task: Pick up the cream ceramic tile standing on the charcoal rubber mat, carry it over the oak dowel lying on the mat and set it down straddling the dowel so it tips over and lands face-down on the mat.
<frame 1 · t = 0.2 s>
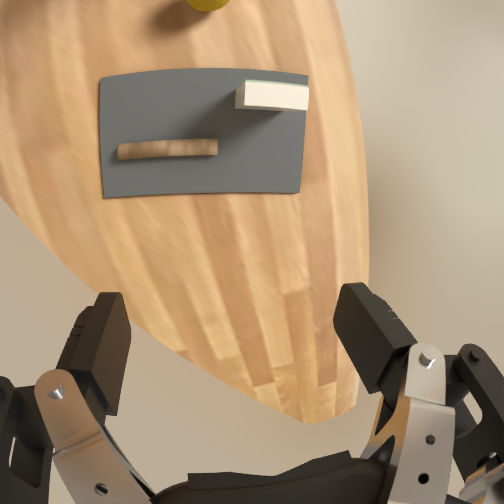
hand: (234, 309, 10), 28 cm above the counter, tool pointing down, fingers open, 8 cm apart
lemon: (208, 2, 24), on the counter
tile: (259, 100, 31), point 1 cm above the counter, touching mat
dowel: (168, 146, 32), resting on mat
mat: (200, 130, 32), on the counter
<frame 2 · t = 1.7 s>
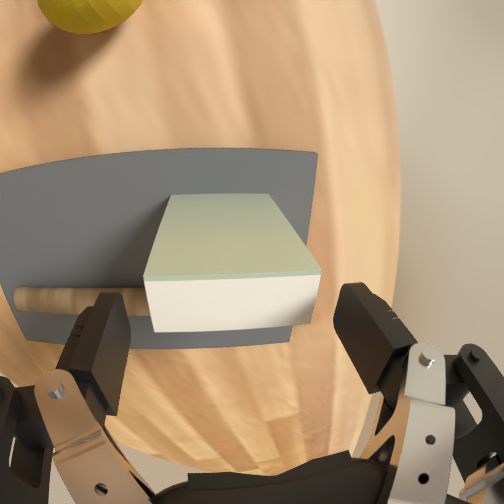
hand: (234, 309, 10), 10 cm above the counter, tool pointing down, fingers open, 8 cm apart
lemon: (116, 9, 11), on the counter
tile: (219, 212, 18), point 1 cm above the counter, touching mat
dowel: (82, 288, 19), resting on mat
mat: (123, 265, 19), on the counter
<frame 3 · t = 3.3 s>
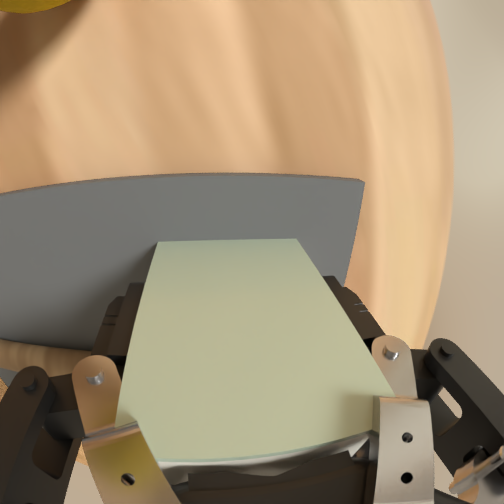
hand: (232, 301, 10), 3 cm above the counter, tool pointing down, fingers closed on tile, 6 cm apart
tile: (227, 265, 13), point 1 cm above the counter, touching gripper, mat
dowel: (59, 345, 14), resting on mat
mat: (103, 324, 14), on the counter
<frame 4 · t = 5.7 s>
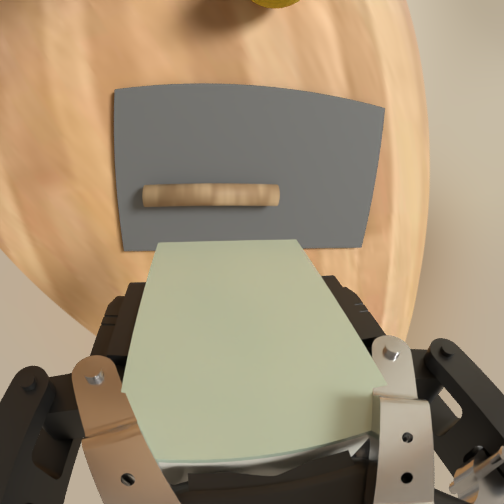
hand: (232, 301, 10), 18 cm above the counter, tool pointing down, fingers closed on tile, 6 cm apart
tile: (228, 266, 13), point 15 cm above the counter, touching gripper
dowel: (210, 189, 26), resting on mat
mat: (254, 169, 26), on the counter
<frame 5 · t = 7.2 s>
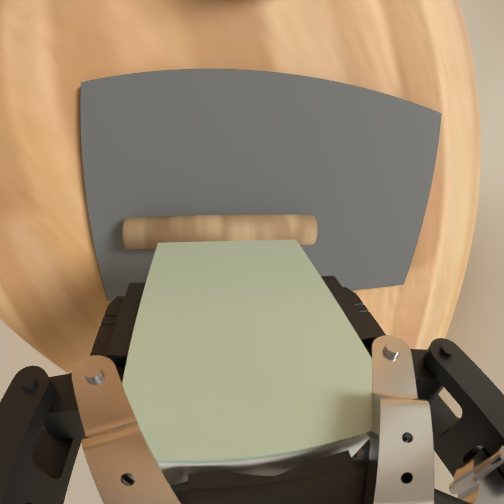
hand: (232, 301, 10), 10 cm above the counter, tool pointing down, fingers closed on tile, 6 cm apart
tile: (227, 266, 13), point 7 cm above the counter, touching gripper
dowel: (219, 221, 19), resting on mat
mat: (279, 193, 19), on the counter
when the fingers open (6 cm above the counter, at t = 8.4 s): tile drops 2 cm and tips over, resting on mat.
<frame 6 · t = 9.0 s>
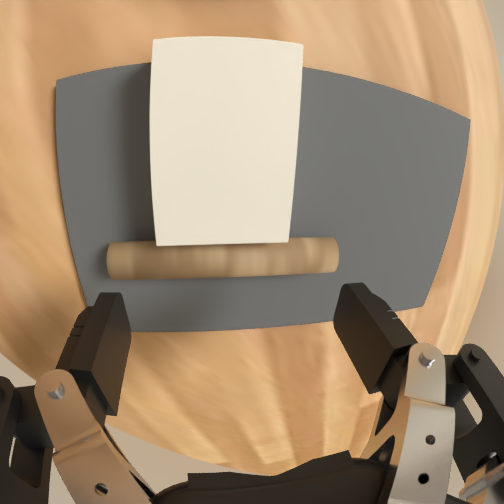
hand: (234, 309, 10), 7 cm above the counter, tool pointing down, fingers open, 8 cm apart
tile: (221, 232, 14), point 2 cm above the counter, tilted 90°, touching mat
dowel: (222, 244, 16), resting on mat
mat: (293, 211, 16), on the counter
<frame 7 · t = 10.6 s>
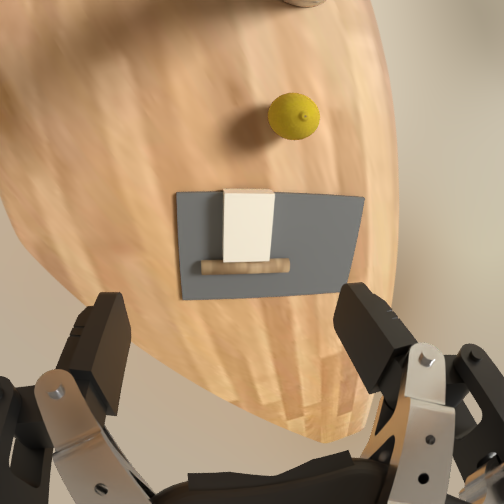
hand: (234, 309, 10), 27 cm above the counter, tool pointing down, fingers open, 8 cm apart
lemon: (283, 116, 32), on the counter
tile: (245, 257, 38), point 2 cm above the counter, tilted 90°, touching mat
dowel: (244, 261, 40), resting on mat
mat: (272, 247, 40), on the counter
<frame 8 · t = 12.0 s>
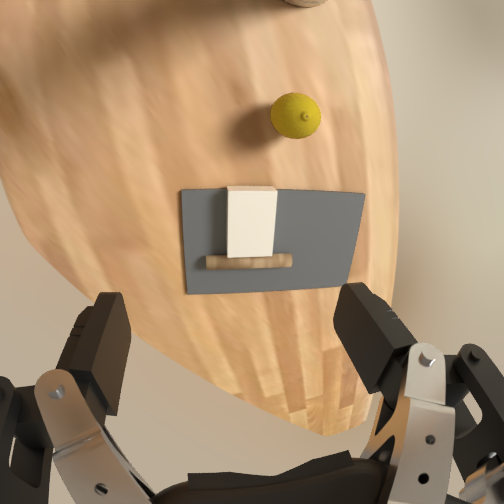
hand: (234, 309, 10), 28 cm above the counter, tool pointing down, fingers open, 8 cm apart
lemon: (285, 115, 33), on the counter
tile: (248, 252, 39), point 2 cm above the counter, tilted 90°, touching mat
dowel: (247, 256, 41), resting on mat
mat: (275, 243, 41), on the counter
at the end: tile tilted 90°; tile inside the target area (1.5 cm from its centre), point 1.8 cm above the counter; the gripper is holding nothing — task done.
